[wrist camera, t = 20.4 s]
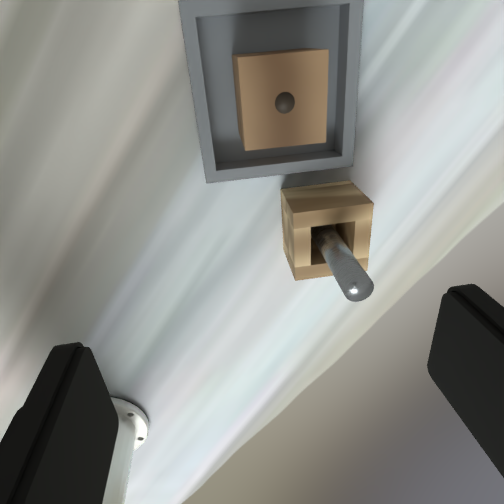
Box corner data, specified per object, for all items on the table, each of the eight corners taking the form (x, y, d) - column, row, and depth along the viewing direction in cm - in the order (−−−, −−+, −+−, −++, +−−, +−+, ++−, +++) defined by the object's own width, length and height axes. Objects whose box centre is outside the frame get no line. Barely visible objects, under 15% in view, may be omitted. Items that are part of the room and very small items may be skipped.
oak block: (345, 240, 39) (367, 270, 34) (283, 249, 39) (295, 280, 34) (349, 179, 36) (373, 202, 31) (280, 188, 35) (293, 213, 30)
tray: (341, 156, 34) (352, 166, 32) (206, 172, 33) (206, 183, 31) (349, -11, 27) (364, -16, 25) (180, 4, 27) (178, 0, 24)
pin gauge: (325, 209, 36) (374, 275, 26) (325, 228, 37) (372, 299, 27) (304, 212, 36) (344, 279, 25) (304, 231, 37) (343, 303, 27)
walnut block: (306, 47, 28) (328, 49, 23) (306, 125, 32) (326, 142, 26) (231, 54, 28) (237, 57, 23) (238, 132, 31) (245, 151, 26)
